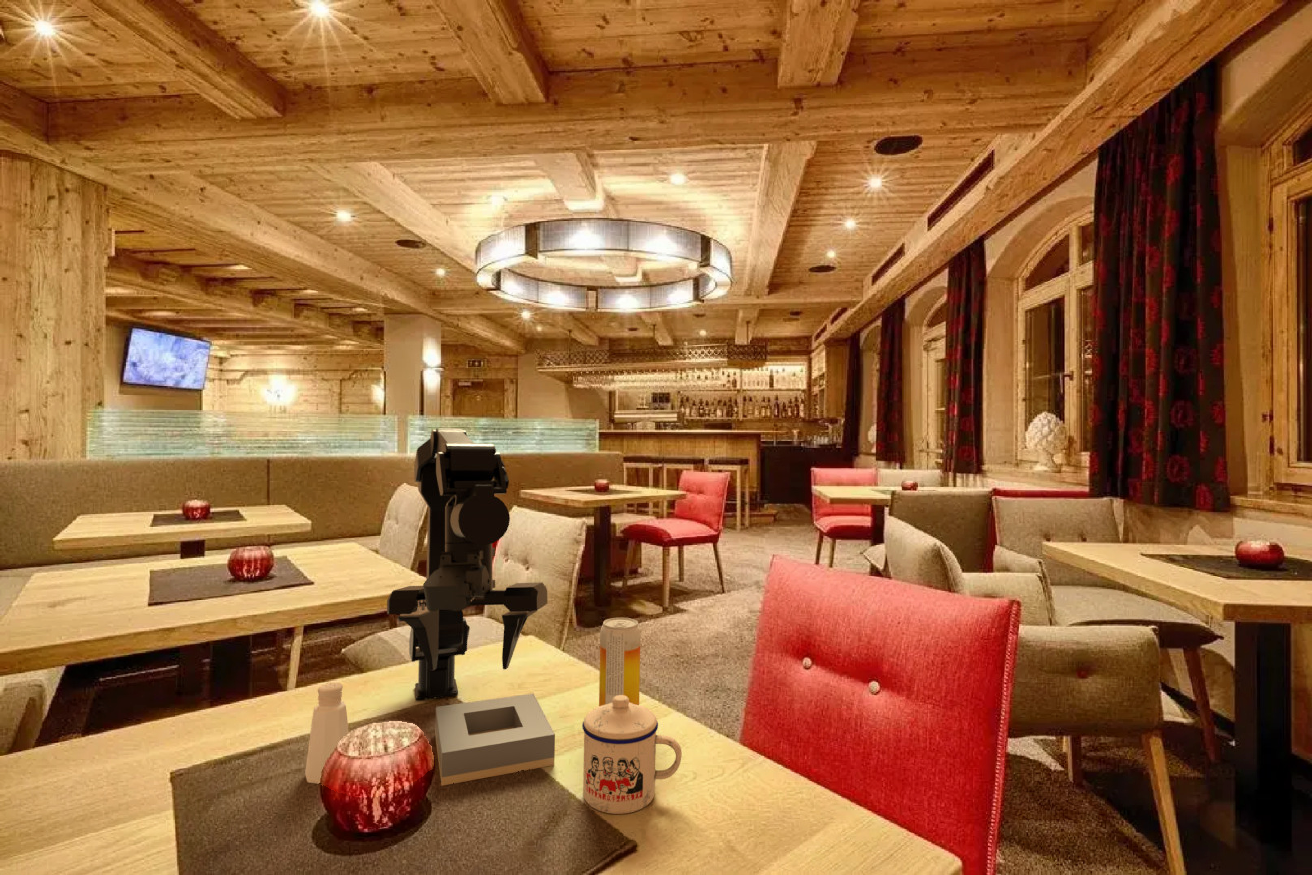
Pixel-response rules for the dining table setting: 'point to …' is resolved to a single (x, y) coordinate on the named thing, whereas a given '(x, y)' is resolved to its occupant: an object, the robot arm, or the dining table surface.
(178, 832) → the dining table surface
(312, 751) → the pepper shaker
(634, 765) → the teacup with lid
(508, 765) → the socket block
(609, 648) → the beer can
